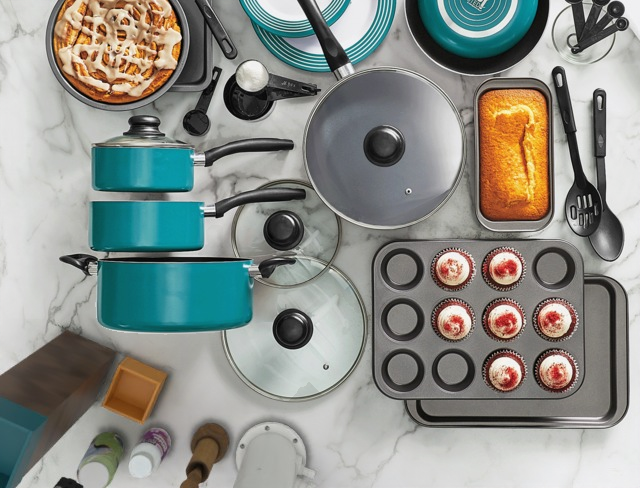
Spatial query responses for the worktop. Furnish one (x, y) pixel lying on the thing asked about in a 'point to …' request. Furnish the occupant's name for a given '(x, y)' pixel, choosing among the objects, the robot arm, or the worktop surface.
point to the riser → (58, 384)
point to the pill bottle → (149, 452)
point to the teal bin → (17, 440)
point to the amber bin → (134, 390)
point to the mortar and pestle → (205, 453)
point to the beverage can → (100, 461)
